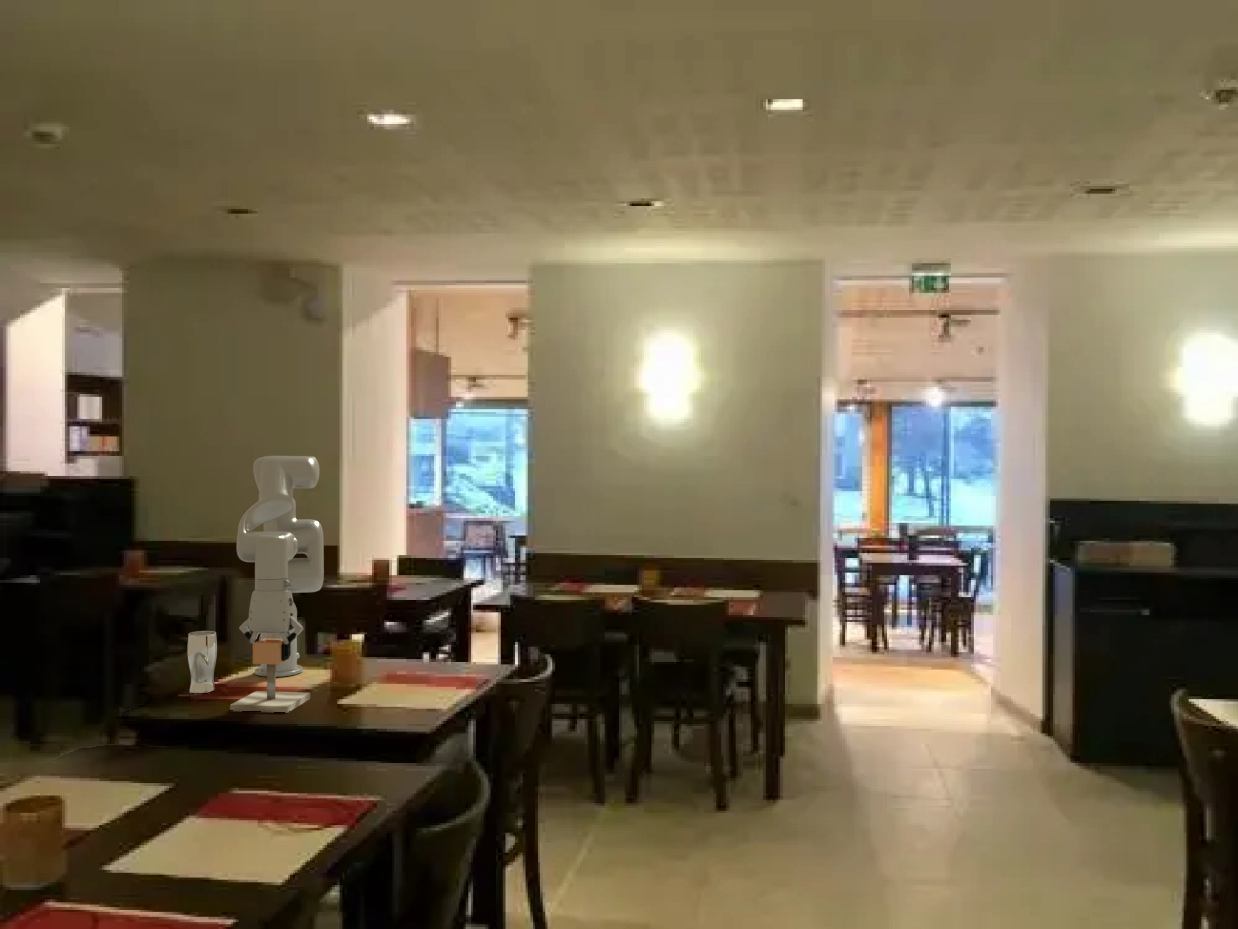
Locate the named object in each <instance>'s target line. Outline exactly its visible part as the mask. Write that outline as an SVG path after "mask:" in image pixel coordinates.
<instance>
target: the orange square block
mask: <svg viewBox="0 0 1238 929" xmlns="http://www.w3.org/2000/svg"><path fill="white" fill-rule="evenodd" d="M282 644H283V640H282V639H265V638H264V639H262V640H261V639H259V641H257V642H254V643H253V656H252V664H253V665H261V664H278V665H279V664H281V663H283V662H285V661H287V660H289V659H287V660H285V661H282Z"/></svg>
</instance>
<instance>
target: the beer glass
mask: <svg viewBox="0 0 1238 929" xmlns="http://www.w3.org/2000/svg"><path fill="white" fill-rule="evenodd" d="M187 635H188V637H187V638H188V639H187V661H188V666H189V671H190V685H189V686H190V687H189V690H188V691H189V694H191V693H208V692H211V691H214V690H215V691H216V687H215V683H214V682H215V681H214V672H215V667H216V663H217V662H216V661H217V655H218V653H217V652H218V645H217V642H218V641H217V632H216V631H214V630H213V631H212V630H201V631H200V630H199V631H192V632H189V633H188V634H187ZM215 691H214V692H215ZM208 694H209V693H208Z"/></svg>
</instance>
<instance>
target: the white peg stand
mask: <svg viewBox="0 0 1238 929" xmlns="http://www.w3.org/2000/svg"><path fill="white" fill-rule="evenodd" d="M276 678H277V677H276V664H267V677H266V691H265V690H264V691H263V690H262V691H261V690H256V691H254V692H252V693H250V694H248V695H246V696H244V697H242V698H240V699H237V701H235V702H233V703H231V704H230V705H229V711H230V710H233V711H232V712H242V711H261V712H260V713H274V712H285V714H288V713H290V712H292V711H293V710H295V709H296V708H298V707H299V706H301V705H303V704H305V703H306V702H307V701H310V699H311V693H310V692H300V691H299V692H294V691H293V692H292V691H291V692H290V691H277V690H276V689H277V688H276V687H277V686H276V684H277V683H276V680H277V679H276ZM289 711H290V712H289Z"/></svg>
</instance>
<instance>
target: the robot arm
mask: <svg viewBox="0 0 1238 929" xmlns="http://www.w3.org/2000/svg"><path fill="white" fill-rule="evenodd" d="M252 469H253V476H254V481H255V485H256V486H257V489H258V491H259V493H258V501H256V502H255V503H254V504H253V505H251V507H248V509H247V510H246V511H245V512H244V514H243V515H242V517H241V518H240V520H239V523H238V528H237V538H236V554H237V557H238V558H239V560H241V561H243V562H246V563H254V564H255V565H254V590H253V591H252V593H251V596H250V602H249V609H248V618H247V619H246V620H245V621H244V622H243V623H241V625H240V626H239V627H238V629H239V630H240V631H241V632H242V633H243V634H244V637H246V638H247V639H248V641H249V643H250V644H251V656H252V657H253V643H254V642H257V641H259V640H262V639H264V638H265V639H282V640H283V644H282V661H285V660H287V659H289V660H287V661H285V662H283V663H281V664H279V665H278V664H276V678H277V677H279V678H280V677H288V676H294V675H298V674H301V673H302V672H303V671H304V670H303V666H302V665H300V664H298V659H299V658H300V657H301V656H300V653H299V652H298V643H297V642H298V636H299V635H300V633H301V632H302V631H304V626H303V625H302V624H301V623H300V622H298V617H297V616H298V610H297V609H298V608H297V607H296V604H295V602H294V598H293V593H294V594H295V593H298V594H300V593H315V592H318V591H320V590H321V589H322V587H323V585H324V578H325V577H324V576H325V575H324V574H325V570H324V569H325V568H324V564H325V561H324V560H325V556H324V554H325V553H324V548H325V546H324V544H325V543H324V541H325V540H324V531H323V527H322V524H321V523H320V522H319V521H318V520H315V519H309V518H308V519H305V518H304V519H303V518H302V519H301V518H300V519H297V517H296V516H297V515H296V508H297V507H296V506H297V504H296V500H295V498H294V489H314V488H315V487H316V486H317V484H318V481H319V479H320V463H319V462H318V459H317V458H316V456H312V455H311V456H310V455H302V456H301V455H266V456H262V457H259V458H257V459H255V461H254V462H253V468H252ZM261 525H263V531H253V530H254V529H256V528H257V527H259V526H261ZM297 554H304V555H305V556H307V557H300V558H297V557H295V555H297ZM294 557H295V558H294ZM254 675H257V676H259V677H266V678H267V664H260V666H258V667H256V668H255V669H254Z"/></svg>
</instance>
